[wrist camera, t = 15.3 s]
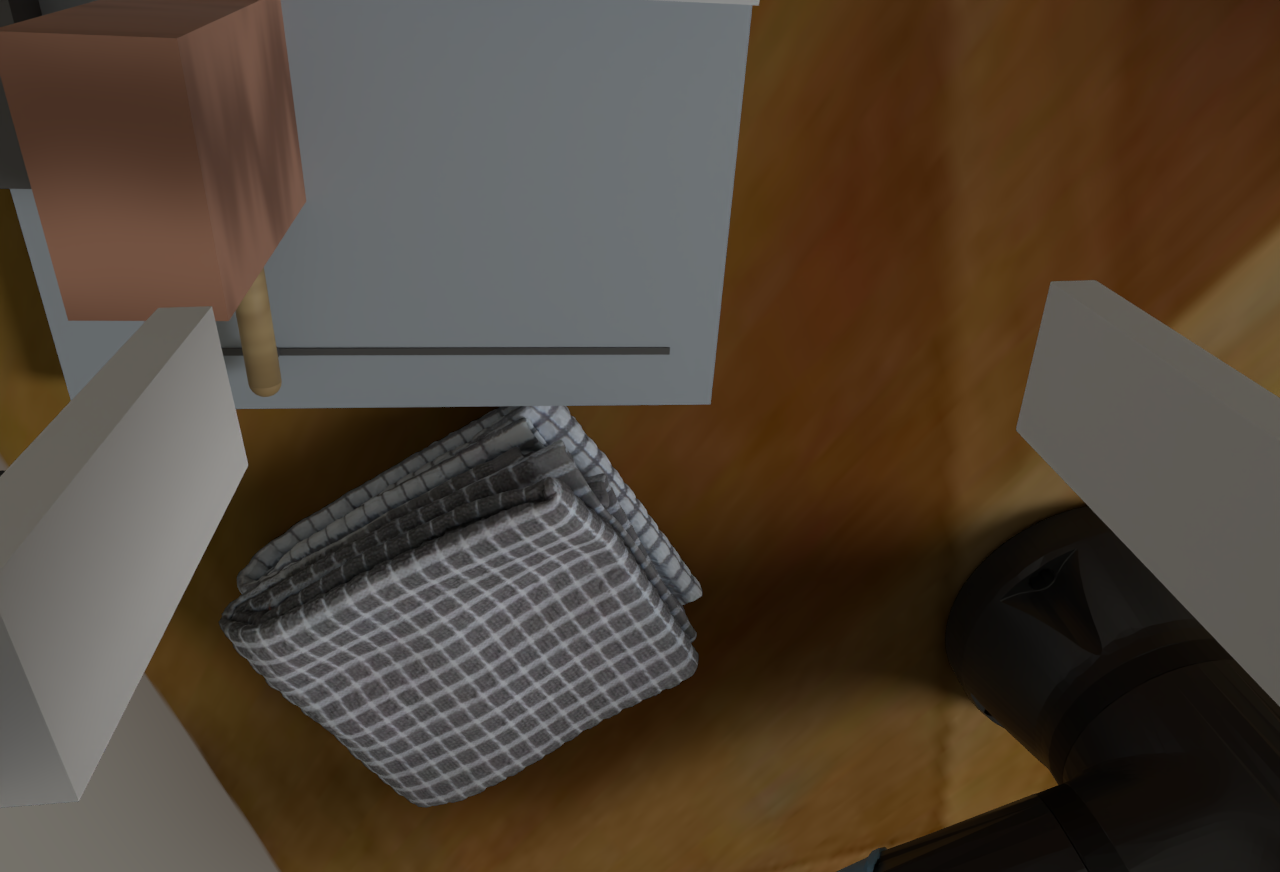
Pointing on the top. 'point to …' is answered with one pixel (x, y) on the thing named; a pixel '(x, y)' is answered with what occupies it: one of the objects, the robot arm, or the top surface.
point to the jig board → (482, 205)
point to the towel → (470, 606)
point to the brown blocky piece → (160, 157)
